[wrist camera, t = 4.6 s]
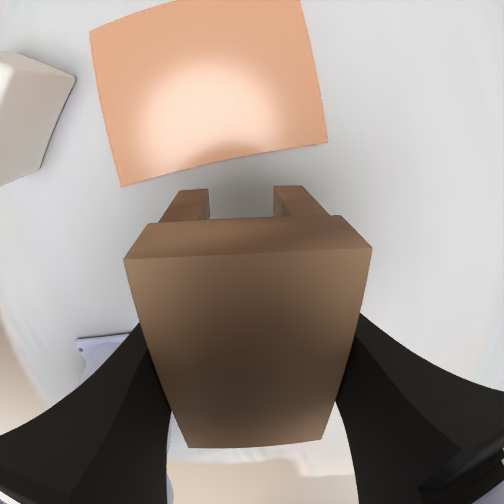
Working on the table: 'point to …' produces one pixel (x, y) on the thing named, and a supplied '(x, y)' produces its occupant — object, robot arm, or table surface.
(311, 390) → the brown slotted block
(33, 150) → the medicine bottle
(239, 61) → the terracotta tile
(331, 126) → the table surface
